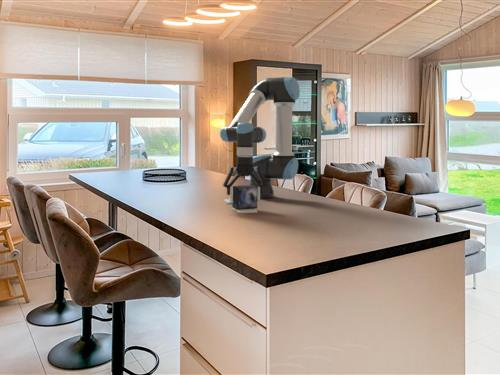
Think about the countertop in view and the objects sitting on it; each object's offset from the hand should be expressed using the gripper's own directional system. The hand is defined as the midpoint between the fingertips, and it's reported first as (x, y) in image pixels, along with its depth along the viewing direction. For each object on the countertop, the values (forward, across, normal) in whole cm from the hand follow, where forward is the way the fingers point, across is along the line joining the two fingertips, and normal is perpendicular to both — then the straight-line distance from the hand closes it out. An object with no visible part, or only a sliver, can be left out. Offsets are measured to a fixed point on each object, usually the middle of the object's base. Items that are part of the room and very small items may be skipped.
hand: (244, 201), depth 224 cm
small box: (+3, 0, 0) cm, 3 cm away
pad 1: (+4, 0, -23) cm, 23 cm away
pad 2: (+4, 0, 0) cm, 4 cm away
